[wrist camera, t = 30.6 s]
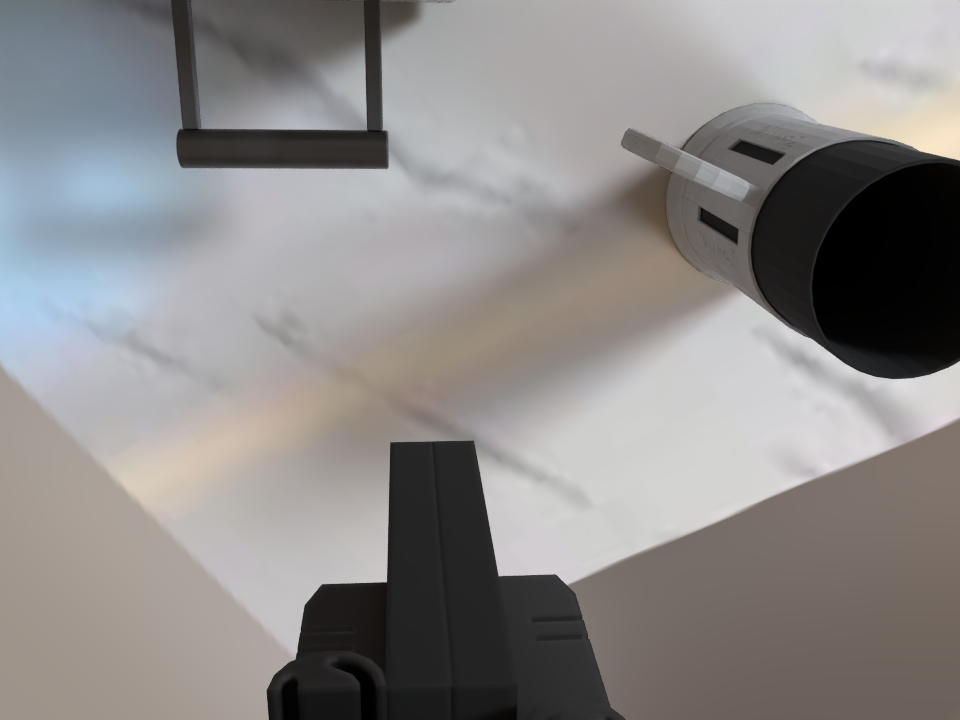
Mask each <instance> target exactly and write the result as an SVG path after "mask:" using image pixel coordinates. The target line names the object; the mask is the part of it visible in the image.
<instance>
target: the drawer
mask: <svg viewBox="0 0 960 720" xmlns="http://www.w3.org/2000/svg"><path fill="white" fill-rule="evenodd" d="M341 1H364V23H365V63H366V103H367V130H272V129H199V128H201V119H200V107H199V95H198V83H197V71H196V59H195V47H194V35H193V23H192V11H191V0H171V3H172V14H173V25H174V36H175V47H176V58H177V70H178V81H179V92H180V103H181V114H182V125H183V129H179V131H178V134H177V141H176V146H177V156H178V161H179V163H180V166H181V167H182V168H297V169H388V167H389V149H388V131H386V130H382V129H383V109H382V57H381V5H380V1H393V2H445V3H451V2H453V1H455V0H341Z"/></svg>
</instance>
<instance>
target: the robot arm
mask: <svg viewBox="0 0 960 720" xmlns="http://www.w3.org/2000/svg"><path fill="white" fill-rule="evenodd" d="M267 701H268V714H269V720H625V719H624V717H623V716H621V715H620V714H619V713H617V712H616V711H615V710H613V709H612V708H611V707H610V704H609V701H608V697H607V694H606V691H605V687H604V684H603V682H602V679H601V675H600V671H599V668H598V665H597V662H596V659H595V655H594V653H593V649H592V646H591V643H590V640H589V639H588V633H587V630H586V627H585V623H584V620H582V614H581V611H580V607H579V605H578V601H577V598H576V594H575V593H574V592H573V591H572V590H571V589H570V588H569V587H568V586H567V585H566V584H565V583H564V582H563V581H562V580H561V579H560V578H559V577H558V576H557V575H525V576H498V571H497V565H496V560H495V554H494V549H493V543H492V538H491V532H490V527H489V521H488V516H487V510H486V504H485V499H484V493H483V488H482V482H481V477H480V471H479V466H478V460H477V455H476V449H475V444H474V441H436V442H390V482H389V525H388V568H387V582H382V583H351V584H322V585H321V586H320V588H319V589H318V590H317V591H316V592H315V594H314V595H313V596H312V597H311V598H310V600H309V601H308V602H307V603H306V604H305V607H304V613H303V619H302V625H301V633H300V637H299V643H298V653H297V655H296V660H294V661H291V662H289V663H288V664H287V665H286V666H284V667H283V668H282V669H281V670H280V671H278V672H277V673H276V674H275V675H274V677H273V679H272V681H271V683H270V685H269V687H268V689H267Z"/></svg>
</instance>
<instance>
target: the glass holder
mask: <svg viewBox="0 0 960 720" xmlns="http://www.w3.org/2000/svg"><path fill="white" fill-rule="evenodd" d="M621 146H622V147H623V148H625V149H627V150H628V151H630V152H632V153H634V154H636V155H638V156H640V157H642V158H644V159H647V160H649V161H651V162H653V163H655V164H657V165H659V166H661V167H663V168H665V169H668V170H670V171H672V172H671V175H670V178H669V183H668V187H667V192H666V214H667V222H668V226H669V229H670V232H671V235H672V238H673V240H674V242H675V244H676V246H677V248H678V249H679V251H680V252H681V254H682V255H683V256H684V257H685V259H686V260H687V261H688V262H689V263H690V264H691V265H693V266H694V267H695V268H696V269H697V270H698V271H700V272H702V273H703V274H705V275H707V276H709V277H711V278H713V279H716V280H719V281H722V282H725V283H730V284H733V285H734V286H735V287H736V288H738V289H739V290H740V291H742V292H743V293H744V294H746V295H747V296H748V297H750V298H751V299H752V300H754V301H755V302H756V303H757V304H759V305H760V306H761V307H763V308H764V309H765V310H767V311H768V312H769V313H771V314H772V315H773V316H775V317H776V318H777V319H778V320H780V321H781V322H782V323H784V324H785V325H786V326H788V327H789V328H791V329H793V330H794V331H796V332H798V333H800V334H801V335H803V336H805V337H808V338H811V339H813V340H814V341H816V342H817V343H818V344H820V345H821V346H822V347H824V348H825V349H826V350H828V351H829V352H830V353H832V354H833V355H834V356H836V357H837V358H838V359H840V360H841V361H842V362H844V363H845V364H847V365H849V366H851V367H852V368H854V369H856V370H858V371H860V372H863V373H866V374H869V375H872V376H875V377H882V378H890V379H905V378H915V377H920V376H925V375H929V374H932V373H935V372H938V371H940V370H943V369H946V368H948V367H950V366H952V365H954V364H956V363H957V362H959V361H960V161H959V160H955V159H950V158H946V157H942V156H937V155H933V154H929V153H924V152H920V151H918V150H917V149H915V148H913V147H911V146H909V145H906V144H903V143H900V142H897V141H894V140H891V139H886V138H881V137H877V136H872V135H868V134H863V133H859V132H854V131H850V130H845V129H840V128H836V127H831V126H827V125H822V124H818V123H817V122H816V121H815V120H813V119H812V118H810V117H808V116H807V115H805V114H804V113H802V112H800V111H798V110H795V109H793V108H790V107H787V106H783V105H777V104H771V103H766V104H751V105H746V106H742V107H738V108H735V109H733V110H730V111H728V112H725V113H723V114H721V115H720V116H718V117H716V118H715V119H713V120H711V121H710V122H708V123H707V124H706V125H705V126H704V127H702V128H701V129H700V130H699V131H698V132H697V133H696V134H695V135H694V136H693V137H692V138H691V140H690V141H689V142H688V143H687V144H686V145H685V147H684V148H683V150H680V149H677V148H675V147H673V146H671V145H669V144H666V143H664V142H662V141H660V140H658V139H655V138H653V137H651V136H649V135H646V134H644V133H642V132H639V131H637V130H634V129H628V130H627V131H626V132H625V134H624V136H623V139H622V141H621Z"/></svg>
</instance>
